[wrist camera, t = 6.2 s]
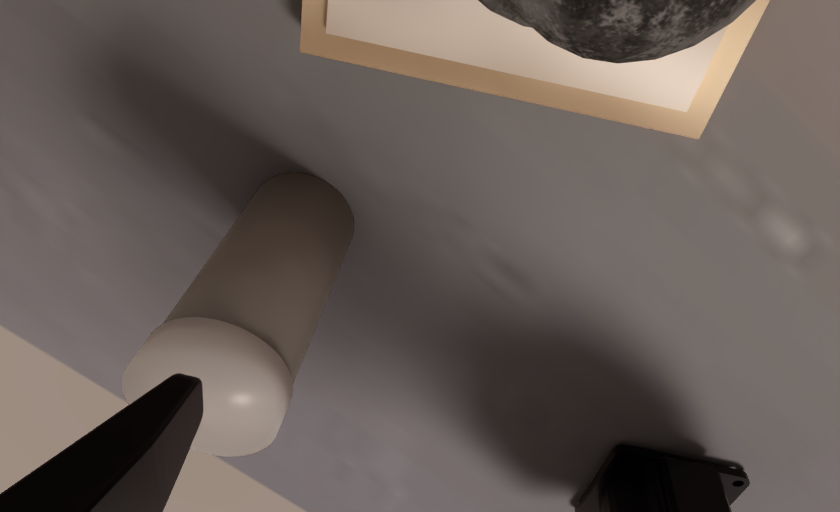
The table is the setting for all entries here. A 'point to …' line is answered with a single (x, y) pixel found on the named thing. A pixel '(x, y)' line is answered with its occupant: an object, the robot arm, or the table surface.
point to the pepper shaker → (251, 314)
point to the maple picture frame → (527, 59)
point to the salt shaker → (622, 24)
